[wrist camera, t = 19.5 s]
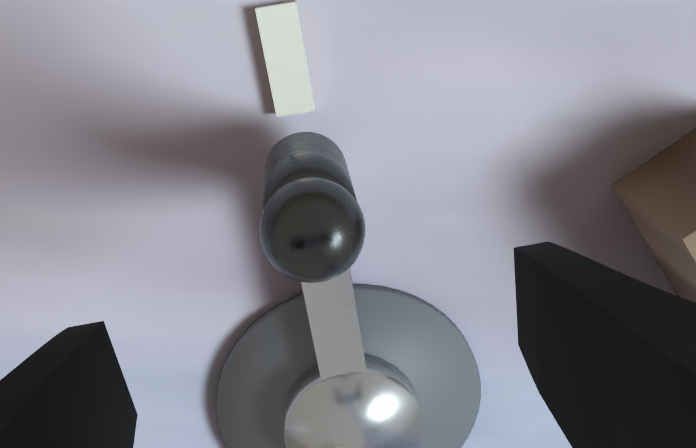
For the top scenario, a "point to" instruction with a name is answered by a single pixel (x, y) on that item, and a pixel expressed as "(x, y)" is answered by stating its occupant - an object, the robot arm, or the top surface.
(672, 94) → the top surface
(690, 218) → the brown wooden block
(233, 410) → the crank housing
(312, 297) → the crank
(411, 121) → the top surface
